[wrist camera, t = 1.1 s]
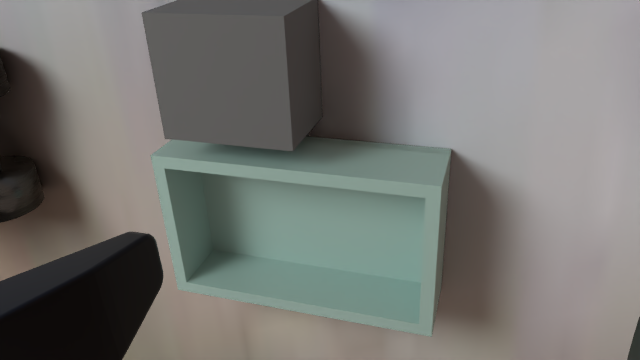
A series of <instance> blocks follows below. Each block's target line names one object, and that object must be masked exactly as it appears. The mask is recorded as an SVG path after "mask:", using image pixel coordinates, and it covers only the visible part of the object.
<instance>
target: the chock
mask: <svg viewBox="0 0 640 360" xmlns="http://www.w3.org/2000/svg"><path fill="white" fill-rule="evenodd" d="M142 17H143V22H144V28H145V33H146V39H147V44H148V49H149V55H150V60H151V66H152V71H153V76H154V82H155V87H156V93H157V98H158V104H159V109H160V114H161V120H162V125H163V131H164V136H165V139H173V140H183V141H193V142H203V143H213V144H223V145H233V146H243V147H253V148H263V149H273V150H283V151H294V150H295V149H296V147H297V146H298V145H299V144H300V143H301V141H302V140H303V139H304V138H305V137H306V135H307V134H308V133H309V132H310V131H311V129H312V128H313V127H314V126H315V125H316V124H317V122H318V121H319V120H320V119H321V118H322V94H321V69H320V43H319V18H318V0H177V1H174V2H171V3H168V4H165V5H163V6H160V7H157V8H154V9H151V10H148V11H145V12H142Z"/></svg>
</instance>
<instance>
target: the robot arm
mask: <svg viewBox="0 0 640 360" xmlns="http://www.w3.org/2000/svg"><path fill="white" fill-rule="evenodd" d="M162 282H163V270H162V265H161V261H160V256H159V252H158V247H157V243H156V240H155V239H154V237H153V236H152V235H150V234H145V233H139V232H127V233H124V234H122V235H119V236H117V237H114V238H111V239H109V240H106V241H104V242H101V243H98V244H96V245H93V246H91V247H88V248H85V249H83V250H80V251H78V252H75V253H72V254H70V255H67V256H65V257H62V258H59V259H57V260H54V261H52V262H49V263H46V264H44V265H41V266H39V267H36V268H33V269H31V270H28V271H26V272H23V273H20V274H18V275H15V276H13V277H10V278H7V279H5V280H2V281H0V360H122V359H123V357H124V355H125V354H126V352H127V350H128V348H129V346H130V344H131V343H132V341H133V339H134V337H135V335H136V333H137V331H138V329H139V328H140V326H141V324H142V322H143V320H144V318H145V316H146V314H147V312H148V311H149V309H150V307H151V305H152V303H153V301H154V299H155V297H156V296H157V294H158V292H159V290H160V288H161V285H162ZM627 360H640V317H639V320H638V323H637V326H636V330H635V333H634V337H633V340H632V344H631V347H630V351H629V354H628V359H627Z"/></svg>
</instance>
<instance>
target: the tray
mask: <svg viewBox="0 0 640 360" xmlns="http://www.w3.org/2000/svg"><path fill="white" fill-rule="evenodd" d="M151 160H152V165H153V169H154V174H155V179H156V184H157V189H158V194H159V199H160V204H161V208H162V213H163V218H164V223H165V228H166V233H167V238H168V242H169V247H170V252H171V257H172V262H173V267H174V272H175V276H176V281H177V286H178V290H183V291H188V292H193V293H199V294H204V295H210V296H215V297H220V298H226V299H231V300H237V301H242V302H247V303H253V304H258V305H263V306H269V307H274V308H280V309H285V310H290V311H296V312H301V313H307V314H312V315H317V316H323V317H328V318H333V319H339V320H344V321H350V322H355V323H360V324H366V325H371V326H377V327H382V328H387V329H393V330H398V331H403V332H409V333H414V334H420V335H425V336H430V337H432V332H433V327H434V322H435V317H436V312H437V307H438V302H439V297H440V292H441V284H442V270H443V257H444V243H445V230H446V216H447V202H448V189H449V175H450V162H451V149H445V148H434V147H422V146H411V145H399V144H388V143H376V142H365V141H353V140H342V139H330V138H319V137H307V136H306V137H305V138H304V139H303V140H302V141H301V143H300V144H299V145H298V146H297V147H296V149H295V150H294V151H283V150H273V149H263V148H253V147H243V146H233V145H223V144H213V143H203V142H193V141H183V140H173V139H172V140H171V141H169V142H168V143H167V144H165V145H164V146H163V147H161V148H160V149H159V150H157V151H156V152H155V153H153V154H152V155H151Z"/></svg>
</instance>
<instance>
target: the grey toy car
mask: <svg viewBox="0 0 640 360" xmlns="http://www.w3.org/2000/svg"><path fill="white" fill-rule="evenodd" d="M9 91H10V85H9V82H8V79H7V76H6V72H5V69H4V66H3V63H2V60H1V57H0V97H1V96H3V95H5V94H6V93H8V92H9ZM43 200H44V193H43V190H42V186H41V183H40V180H39V177H38V174H37V171H36V167H35V164H34V161H33V160H32V159H30V158H27V157H23V156H5V157H0V223H1V222H5V221H9V220H12V219H15V218H18V217H20V216H23V215H25V214H27V213H29V212H31V211H32V210H34V209H35V208H37V207H38V206H39V205H40V204H41V203H42V201H43Z"/></svg>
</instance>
